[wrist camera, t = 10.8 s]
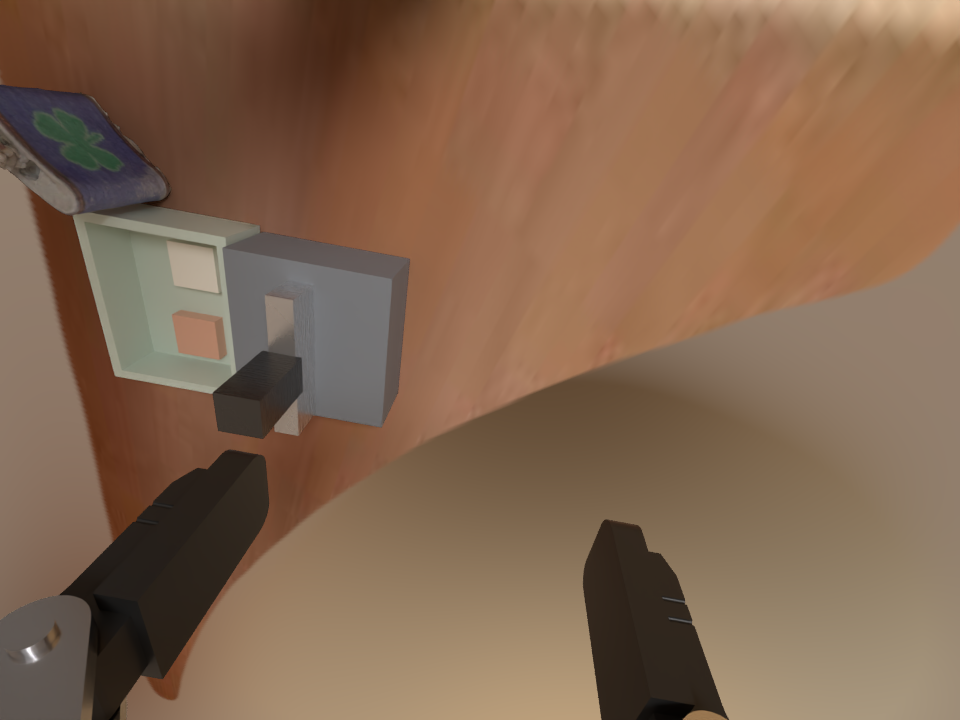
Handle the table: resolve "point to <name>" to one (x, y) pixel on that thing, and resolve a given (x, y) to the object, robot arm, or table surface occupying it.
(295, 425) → the scraper
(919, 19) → the table surface
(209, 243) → the box
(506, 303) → the table surface
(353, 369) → the grey slotted block
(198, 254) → the tile cream
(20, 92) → the flask
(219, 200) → the table surface
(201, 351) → the tile terracotta
